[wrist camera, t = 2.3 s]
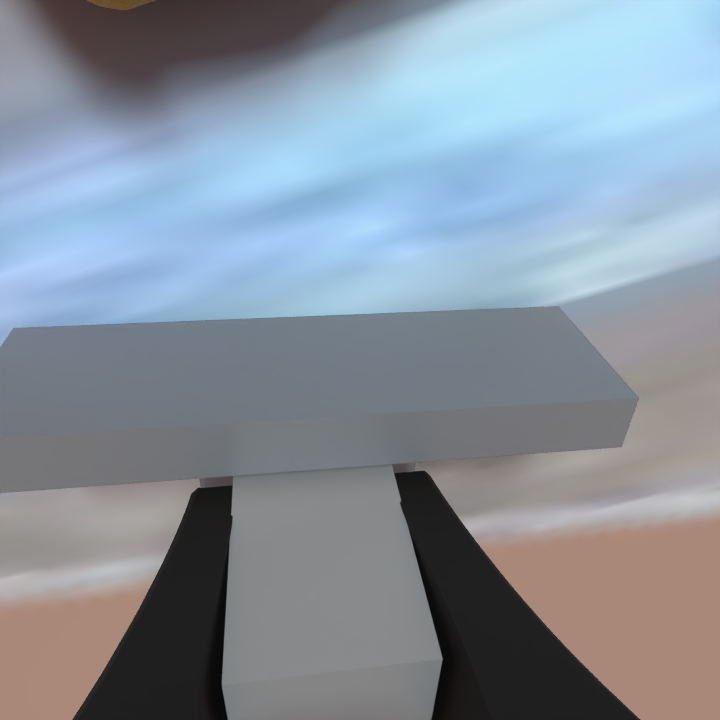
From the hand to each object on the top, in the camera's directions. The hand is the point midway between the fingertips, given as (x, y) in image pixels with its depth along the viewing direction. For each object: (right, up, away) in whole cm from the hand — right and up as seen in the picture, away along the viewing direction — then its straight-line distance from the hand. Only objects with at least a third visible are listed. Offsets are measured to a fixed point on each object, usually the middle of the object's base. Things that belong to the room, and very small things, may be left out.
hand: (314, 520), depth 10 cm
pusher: (0, +2, +2) cm, 3 cm away
